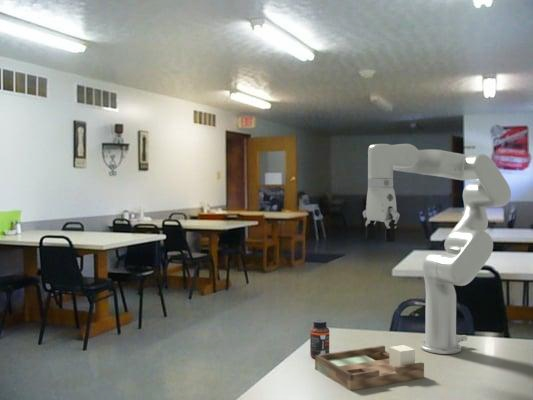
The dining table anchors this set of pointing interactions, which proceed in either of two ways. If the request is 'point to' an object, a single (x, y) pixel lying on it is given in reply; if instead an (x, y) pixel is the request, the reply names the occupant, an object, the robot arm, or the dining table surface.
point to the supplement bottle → (319, 338)
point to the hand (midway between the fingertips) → (380, 240)
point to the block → (401, 355)
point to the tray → (365, 368)
